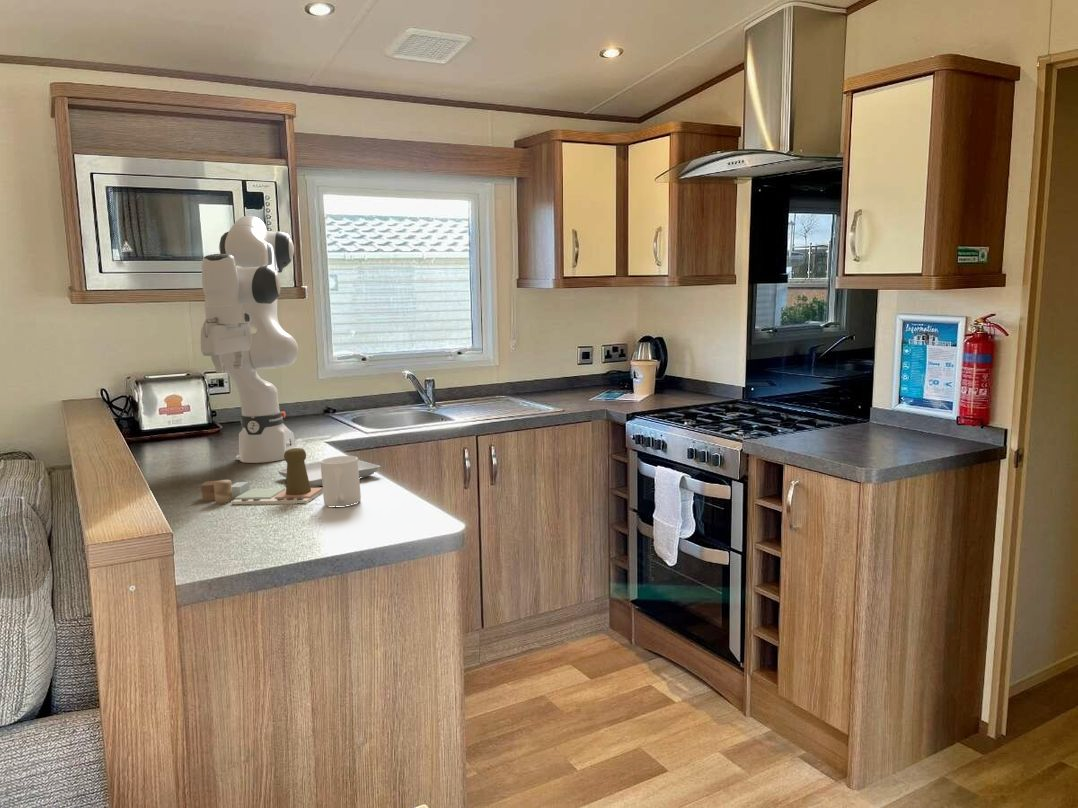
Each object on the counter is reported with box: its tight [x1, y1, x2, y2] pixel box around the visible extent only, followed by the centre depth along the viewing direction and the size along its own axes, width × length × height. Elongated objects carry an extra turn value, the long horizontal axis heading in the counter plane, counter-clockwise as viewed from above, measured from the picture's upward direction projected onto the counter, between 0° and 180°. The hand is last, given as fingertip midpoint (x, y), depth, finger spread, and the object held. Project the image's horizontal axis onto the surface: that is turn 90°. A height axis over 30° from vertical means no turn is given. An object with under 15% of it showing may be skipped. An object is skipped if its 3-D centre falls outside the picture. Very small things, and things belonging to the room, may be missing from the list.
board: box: [230, 487, 323, 505], centre depth 198 cm, size 11×19×1 cm, turn 84°
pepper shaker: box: [283, 448, 312, 495], centre depth 198 cm, size 6×6×11 cm
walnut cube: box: [200, 480, 217, 502], centre depth 202 cm, size 4×4×4 cm
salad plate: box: [277, 459, 381, 488], centre depth 218 cm, size 21×21×3 cm
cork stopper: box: [214, 479, 234, 505], centre depth 197 cm, size 4×4×5 cm
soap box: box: [231, 481, 250, 499], centre depth 203 cm, size 5×3×3 cm, turn 174°
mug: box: [319, 455, 362, 507], centre depth 188 cm, size 9×12×11 cm
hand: (229, 370), depth 208 cm, fingers open, 8 cm apart
